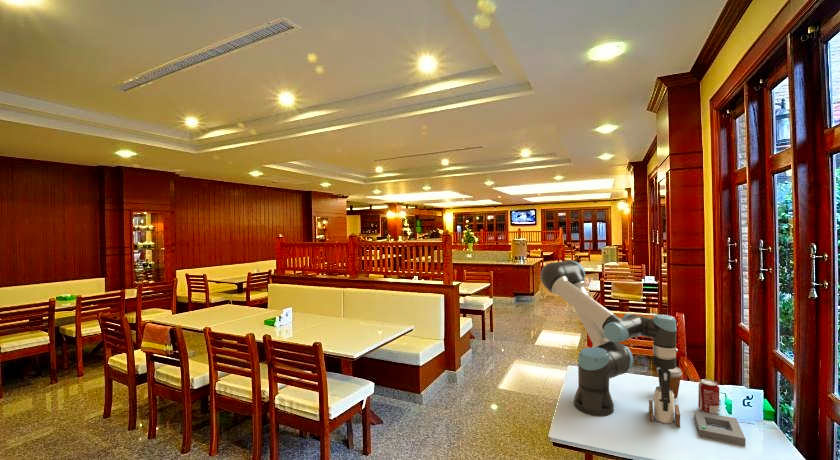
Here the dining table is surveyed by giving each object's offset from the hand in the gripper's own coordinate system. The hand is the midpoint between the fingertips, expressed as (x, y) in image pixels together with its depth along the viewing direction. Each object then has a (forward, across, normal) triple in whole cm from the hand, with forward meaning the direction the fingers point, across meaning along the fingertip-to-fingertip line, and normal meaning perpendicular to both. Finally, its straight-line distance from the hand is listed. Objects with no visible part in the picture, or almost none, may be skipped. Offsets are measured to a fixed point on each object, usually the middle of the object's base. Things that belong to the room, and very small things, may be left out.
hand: (664, 410), depth 155 cm
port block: (+4, 0, -17) cm, 17 cm away
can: (+4, 0, 0) cm, 4 cm away
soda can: (+4, +15, -16) cm, 22 cm away
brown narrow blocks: (+4, 0, 0) cm, 4 cm away
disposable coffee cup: (+4, +24, -3) cm, 24 cm away
